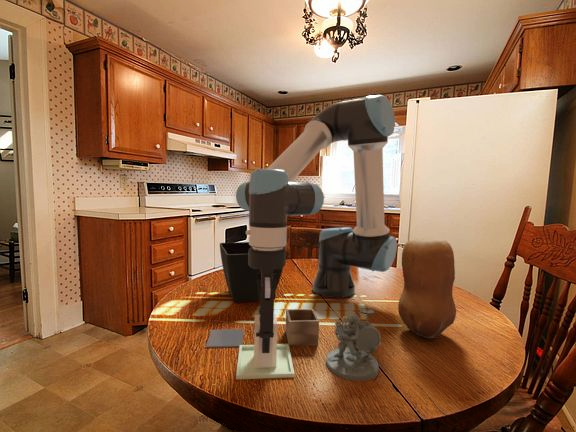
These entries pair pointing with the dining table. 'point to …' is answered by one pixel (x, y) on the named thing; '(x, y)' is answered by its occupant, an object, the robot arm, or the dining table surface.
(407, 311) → the butternut squash
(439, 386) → the dining table surface
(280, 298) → the dining table surface
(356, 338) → the figurine
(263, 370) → the green tray
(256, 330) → the cream square pillar
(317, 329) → the walnut open box
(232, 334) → the slate coaster
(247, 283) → the flower pot
